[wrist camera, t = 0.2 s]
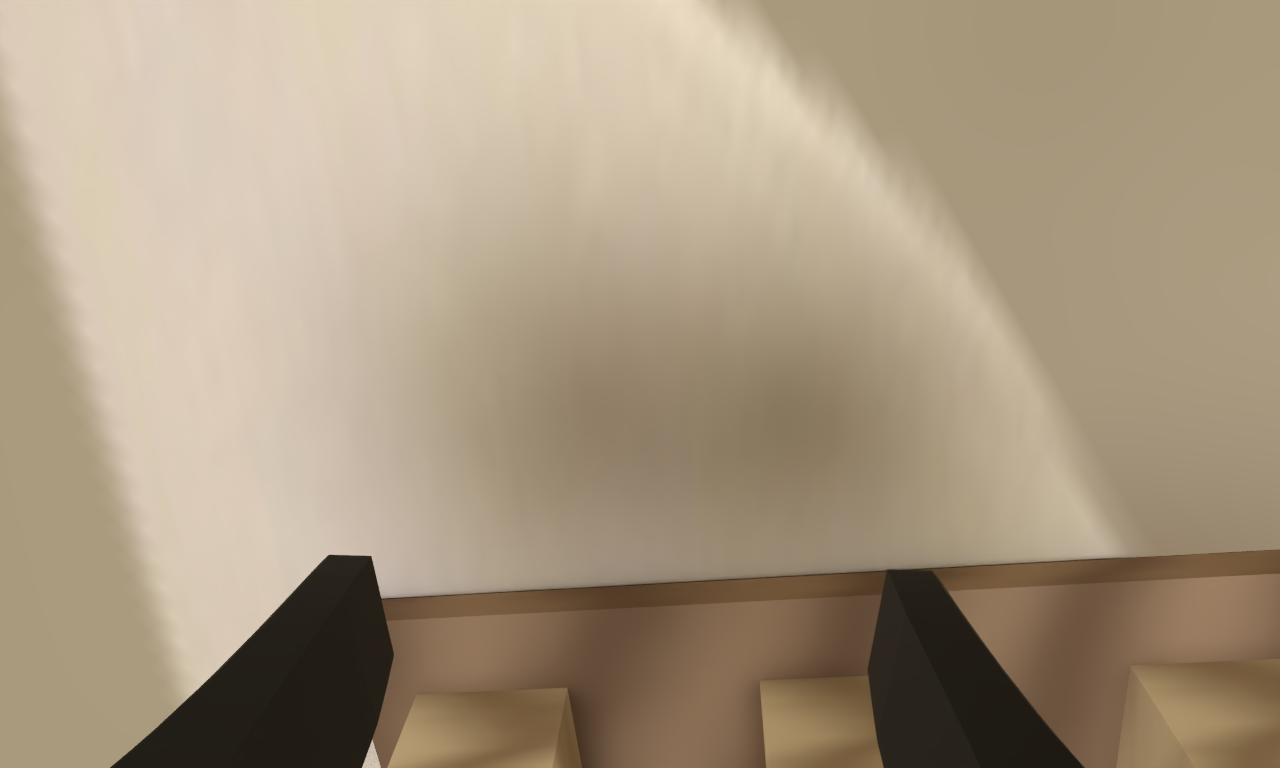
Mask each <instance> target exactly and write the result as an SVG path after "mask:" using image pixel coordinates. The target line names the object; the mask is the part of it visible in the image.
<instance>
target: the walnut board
mask: <svg viewBox="0 0 1280 768" xmlns="http://www.w3.org/2000/svg"><path fill="white" fill-rule="evenodd" d="M920 571H933V572H934V573H935V575H936V576H937V577H938V578H939V579H940V581H941V582H942V584H943V585H944V587H945V588H946V590H947V591H948V592H949V594H950V595H951V597H952V598H953V600H954V601H955V603H956V604H957V606H958V607H959V609H960V610H961V611H962V613H963V614H964V616H965V617H966V619H967V620H968V621H969V623H970V624H971V626H972V627H973V628H974V630H975V631H976V633H977V634H978V635H979V637H980V638H981V639H982V641H983V642H984V644H985V645H986V646H987V648H988V649H989V650H990V652H991V653H992V655H993V656H994V657H995V659H996V660H997V661H998V663H999V664H1000V665H1001V667H1002V668H1003V669H1004V670H1005V672H1006V673H1007V674H1008V676H1009V677H1010V678H1011V679H1012V681H1013V682H1014V683H1015V684H1016V686H1017V687H1018V688H1019V690H1020V691H1021V692H1022V693H1023V695H1024V696H1025V697H1026V698H1027V700H1028V701H1029V702H1030V704H1031V705H1032V706H1033V707H1034V709H1035V710H1036V711H1037V712H1038V714H1039V715H1040V716H1041V717H1042V718H1043V720H1044V721H1045V722H1046V723H1047V724H1048V726H1049V727H1050V728H1051V729H1052V730H1053V732H1054V733H1055V734H1056V735H1057V736H1058V738H1059V739H1060V740H1061V741H1062V742H1063V743H1064V744H1065V746H1066V747H1067V748H1068V749H1069V750H1070V751H1071V753H1072V754H1073V755H1074V756H1075V757H1076V758H1077V759H1078V761H1079V762H1080V763H1081V764H1082V765H1083V766H1084V767H1085V768H1116V765H1117V758H1118V751H1119V744H1120V736H1121V729H1122V722H1123V715H1124V708H1125V700H1126V693H1127V686H1128V679H1129V671H1130V665H1152V664H1175V663H1198V662H1220V661H1243V660H1266V659H1280V550H1264V551H1246V552H1228V553H1210V554H1193V555H1174V556H1156V557H1138V558H1120V559H1102V560H1084V561H1066V562H1048V563H1030V564H1012V565H994V566H976V567H958V568H940V569H922V570H920ZM886 572H887V571H886ZM886 572H868V573H850V574H832V575H813V576H795V577H777V578H759V579H741V580H723V581H705V582H687V583H669V584H651V585H633V586H615V587H597V588H579V589H561V590H543V591H525V592H507V593H489V594H471V595H453V596H435V597H417V598H399V599H381V600H382V604H383V609H384V613H385V617H386V622H387V626H388V630H389V634H390V639H391V643H392V647H393V652H394V658H393V662H392V667H391V671H390V675H389V680H388V684H387V689H386V693H385V697H384V701H383V705H382V709H381V713H380V717H379V721H378V724H377V727H376V730H375V733H374V736H373V738H372V739H373V742H374V745H375V749H376V752H377V755H378V758H379V762H380V765H381V768H387V767H388V765H389V762H390V760H391V757H392V755H393V752H394V750H395V747H396V745H397V742H398V739H399V737H400V734H401V732H402V729H403V727H404V724H405V722H406V719H407V717H408V714H409V712H410V709H411V707H412V704H413V702H414V699H415V697H416V694H436V693H459V692H482V691H504V690H527V689H549V688H567V689H568V694H569V699H570V705H571V710H572V716H573V721H574V726H575V732H576V737H577V743H578V748H579V753H580V759H581V764H582V768H766V761H765V748H764V734H763V721H762V707H761V693H760V680H782V679H805V678H827V677H850V676H868V664H869V659H870V654H871V649H872V644H873V638H874V633H875V628H876V623H877V618H878V613H879V608H880V603H881V597H882V592H883V587H884V582H885V577H886Z"/></svg>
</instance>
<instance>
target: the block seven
mask: <svg viewBox="0 0 1280 768" xmlns="http://www.w3.org/2000/svg"><path fill="white" fill-rule="evenodd" d="M387 768H582V764H581V759H580V753H579V748H578V743H577V737H576V732H575V726H574V721H573V716H572V710H571V705H570V699H569V694H568V689H567V688H549V689H527V690H504V691H482V692H459V693H436V694H416V697H415V699H414V702H413V704H412V707H411V709H410V712H409V714H408V717H407V719H406V722H405V724H404V727H403V729H402V732H401V734H400V737H399V739H398V742H397V745H396V747H395V750H394V752H393V755H392V757H391V760H390V762H389V765H388V767H387Z"/></svg>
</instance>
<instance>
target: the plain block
mask: <svg viewBox="0 0 1280 768" xmlns="http://www.w3.org/2000/svg"><path fill="white" fill-rule="evenodd" d="M760 693H761V707H762V721H763V734H764V748H765V761H766V768H884V767H883V763H882V759H881V755H880V751H879V747H878V742H877V736H876V729H875V723H874V716H873V709H872V701H871V693H870V685H869V677H868V676H850V677H827V678H805V679H782V680H760Z"/></svg>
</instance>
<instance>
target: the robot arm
mask: <svg viewBox="0 0 1280 768" xmlns="http://www.w3.org/2000/svg"><path fill="white" fill-rule="evenodd" d="M393 658H394V652H393V647H392V643H391V639H390V634H389V630H388V626H387V622H386V617H385V613H384V609H383V604H382V600H381V596H380V591H379V587H378V583H377V579H376V574H375V570H374V566H373V561H372V557H371V556H349V555H328V556H327V557H326V558H325V559H324V560H323V561H322V562H321V563H320V564H319V565H318V566H317V567H316V568H315V569H314V570H313V571H312V572H311V574H310V575H309V576H308V577H307V578H306V579H305V580H304V581H303V582H302V583H301V584H300V585H299V586H298V587H297V588H296V590H295V591H294V592H293V593H292V594H291V595H290V596H289V597H288V598H287V599H286V600H285V601H284V602H283V603H282V605H281V606H280V607H279V608H278V609H277V610H276V611H275V612H274V613H273V614H272V615H271V616H270V617H269V618H268V619H267V620H266V621H265V622H264V624H263V625H262V626H261V627H260V628H259V629H258V630H257V631H256V632H255V633H254V634H253V635H252V636H251V637H250V638H249V639H248V640H247V641H246V642H245V643H244V644H243V645H242V646H241V647H240V648H239V649H238V650H237V651H236V652H235V653H234V654H233V655H232V656H231V657H230V658H229V659H228V660H227V661H226V662H225V663H224V664H223V665H222V666H221V667H220V668H219V669H218V670H217V671H216V672H215V673H214V674H213V675H212V676H211V677H210V678H209V679H208V680H207V681H206V682H205V683H204V684H203V685H202V686H201V687H200V688H199V689H198V690H197V691H196V692H194V693H193V694H192V695H191V696H190V697H189V698H188V699H187V700H186V701H185V702H184V703H183V704H182V705H180V706H179V707H178V708H177V709H176V710H175V711H174V712H173V713H172V714H171V715H170V716H169V717H168V718H167V719H165V720H164V721H163V722H162V723H161V724H160V725H159V726H158V727H157V728H156V729H155V730H154V731H153V732H151V733H150V734H149V735H148V736H147V737H146V738H144V739H143V740H142V741H141V742H140V743H139V744H138V745H136V746H135V747H134V748H133V749H132V750H131V751H129V752H128V753H127V754H126V755H125V756H123V757H122V758H121V759H120V760H119V761H118V762H116V763H115V764H114V765H113V766H112V767H111V768H362V766H363V763H364V760H365V758H366V755H367V752H368V749H369V747H370V744H371V741H372V738H373V736H374V733H375V730H376V727H377V724H378V721H379V717H380V713H381V709H382V705H383V701H384V697H385V693H386V689H387V684H388V680H389V675H390V671H391V667H392V662H393ZM868 677H869V685H870V693H871V701H872V709H873V716H874V723H875V729H876V736H877V742H878V747H879V751H880V755H881V759H882V763H883V767H884V768H1085V767H1084V766H1083V765H1082V764H1081V763H1080V762H1079V761H1078V759H1077V758H1076V757H1075V756H1074V755H1073V754H1072V753H1071V751H1070V750H1069V749H1068V748H1067V747H1066V746H1065V744H1064V743H1063V742H1062V741H1061V740H1060V739H1059V738H1058V736H1057V735H1056V734H1055V733H1054V732H1053V730H1052V729H1051V728H1050V727H1049V726H1048V724H1047V723H1046V722H1045V721H1044V720H1043V718H1042V717H1041V716H1040V715H1039V714H1038V712H1037V711H1036V710H1035V709H1034V707H1033V706H1032V705H1031V704H1030V702H1029V701H1028V700H1027V698H1026V697H1025V696H1024V695H1023V693H1022V692H1021V691H1020V690H1019V688H1018V687H1017V686H1016V684H1015V683H1014V682H1013V681H1012V679H1011V678H1010V677H1009V676H1008V674H1007V673H1006V672H1005V670H1004V669H1003V668H1002V667H1001V665H1000V664H999V663H998V661H997V660H996V659H995V657H994V656H993V655H992V653H991V652H990V650H989V649H988V648H987V646H986V645H985V644H984V642H983V641H982V639H981V638H980V637H979V635H978V634H977V633H976V631H975V630H974V628H973V627H972V626H971V624H970V623H969V621H968V620H967V619H966V617H965V616H964V614H963V613H962V611H961V610H960V609H959V607H958V606H957V604H956V603H955V601H954V600H953V598H952V597H951V595H950V594H949V592H948V591H947V590H946V588H945V587H944V585H943V584H942V582H941V581H940V579H939V578H938V577H937V576H936V575H935V573H934V572H933V571H920V570H887V572H886V577H885V582H884V587H883V592H882V597H881V603H880V608H879V613H878V618H877V623H876V628H875V633H874V638H873V644H872V649H871V654H870V659H869V664H868Z"/></svg>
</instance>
